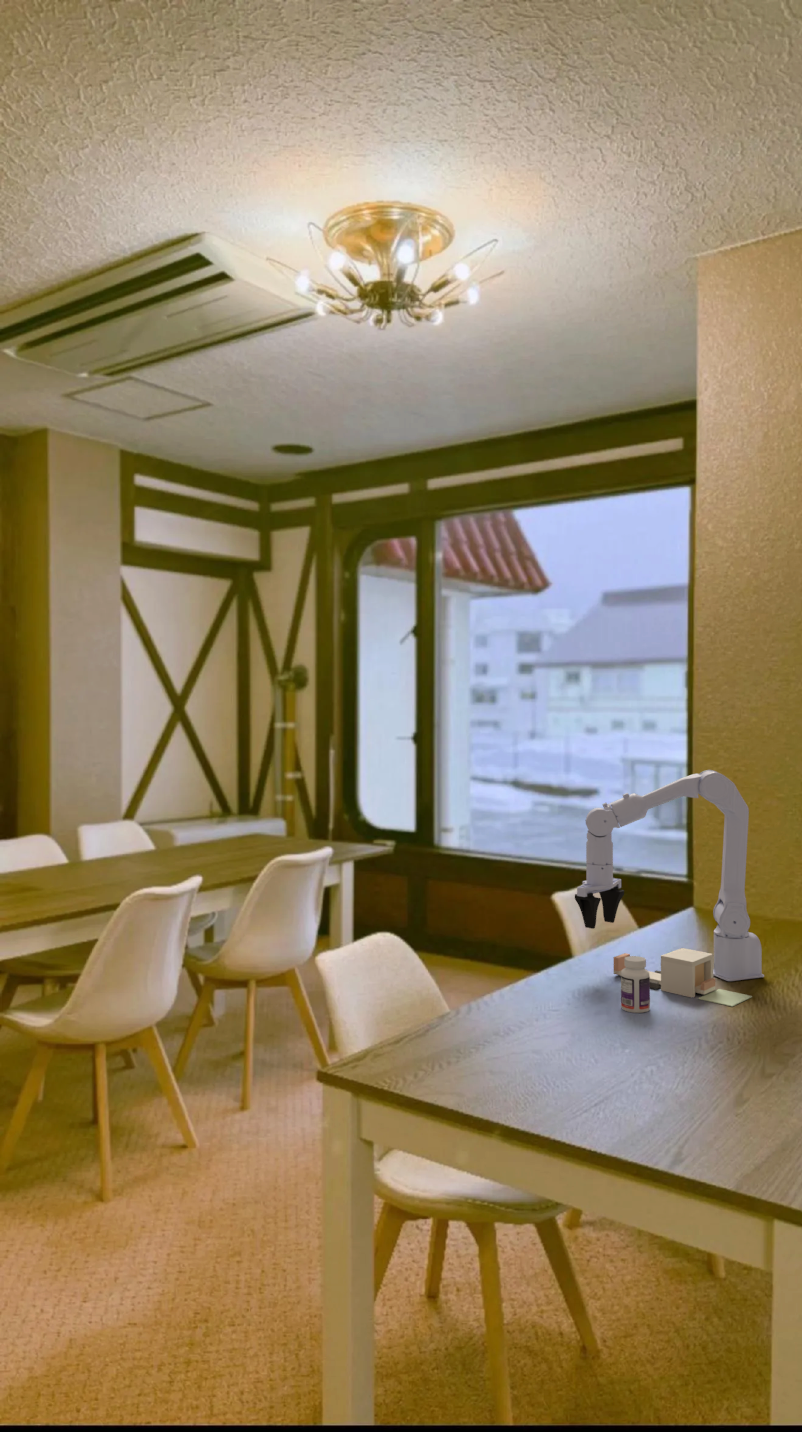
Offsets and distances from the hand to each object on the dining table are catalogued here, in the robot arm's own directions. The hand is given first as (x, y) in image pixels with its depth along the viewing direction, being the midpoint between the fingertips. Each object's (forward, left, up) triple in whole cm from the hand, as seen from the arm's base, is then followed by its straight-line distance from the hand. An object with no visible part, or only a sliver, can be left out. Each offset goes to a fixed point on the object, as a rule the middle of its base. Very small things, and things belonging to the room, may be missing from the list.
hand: (599, 924), depth 210 cm
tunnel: (-9, +19, -10) cm, 23 cm away
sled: (-7, +14, -9) cm, 18 cm away
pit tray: (-6, +13, -10) cm, 17 cm away
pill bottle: (+8, +26, -10) cm, 29 cm away
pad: (-13, +26, -10) cm, 31 cm away
